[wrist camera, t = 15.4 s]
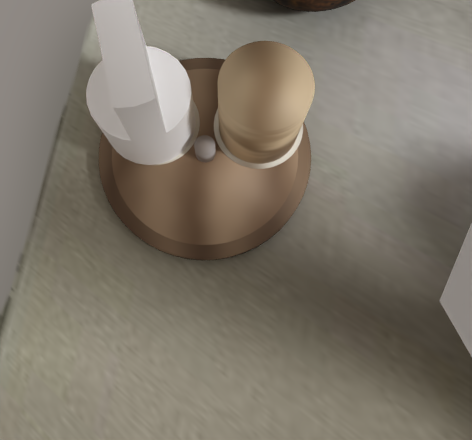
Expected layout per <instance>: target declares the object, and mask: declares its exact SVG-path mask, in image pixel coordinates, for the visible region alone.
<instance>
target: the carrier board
mask: <svg viewBox="0 0 472 440" xmlns="http://www.w3.org/2000/svg"><path fill="white" fill-rule="evenodd" d="M224 61H225V60H224V59H216V58H194V59H187V60H181V61H179V62H180V63H181V65H182V66H183V67H184V69H185V70H186V72H187V75H188V77H189V80H190V84H191V91H192V97H193V104H194V111H195V120H196V125H195V131H194V135H193V137H192V139H191V141H190V143H189V145H188V146H187V147H186V148H185V150H184V151H183V152H182V153H181V154H179V155H178V156H176V157H175V158H173V159H172V160H169V161H167V162H164V163H161V164H154V165H144V164H138V163H134V162H132V161H130V160H127V159H125V158H124V157H123V156H121V155H120V154H119V153H118V152H116V150H115V149H114V148H113V146H112V145H111V143H110V142H109V141H108V139H107V138H106V136H105V135H104V133H102V136H101V141H100V147H99V170H100V177H101V181H102V185H103V189H104V191H105V194H106V196H107V198H108V201H109V203H110V205H111V206H112V208H113V210H114V211H115V213H116V214H117V216H118V217H119V218H120V219H121V221H122V222H123V223H124V224H125V225H126V226H127V227H128V228H129V229H130V230H131V231H132V232H133V233H134V234H135V235H136V236H138V237H139V238H140V239H142V240H143V241H145V242H146V243H147V244H149V245H151V246H153V247H155V248H156V249H158V250H160V251H163V252H165V253H168V254H171V255H173V256H177V257H182V258H186V259H195V260H217V259H223V258H229V257H233V256H236V255H239V254H242V253H245V252H247V251H249V250H251V249H254V248H256V247H258V246H259V245H261V244H262V243H264V242H265V241H267V240H268V239H270V238H271V237H272V236H273V235H274V234H276V233H277V232H278V231H279V230H280V229H281V228H282V227H283V226H284V225H285V223H286V222H287V221H288V220H289V219H290V217H291V216H292V214H293V213H294V211H295V210H296V208H297V207H298V205H299V203H300V201H301V199H302V197H303V195H304V192H305V189H306V186H307V183H308V179H309V174H310V166H311V150H310V141H309V137H308V132H307V129H306V126H305V124H304V122H303V124H302V127H301V129H300V131H299V134H298V136H297V139H296V141H295V143H294V145H293V146H292V148H291V149H290V150H289V151H288V153H287V154H285V155H284V156H283V157H281V158H280V159H278V160H275V161H273V162H269V163H264V164H255V163H249V162H246V161H243V160H241V159H239V158H237V157H236V156H234V155H233V154H232V153H231V152H230V151H229V150H228V149H227V148H226V147H225V145H224V144H223V142H222V139H221V137H220V133H219V118H218V75H219V72H220V69H221V67H222V65H223V63H224Z"/></svg>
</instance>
